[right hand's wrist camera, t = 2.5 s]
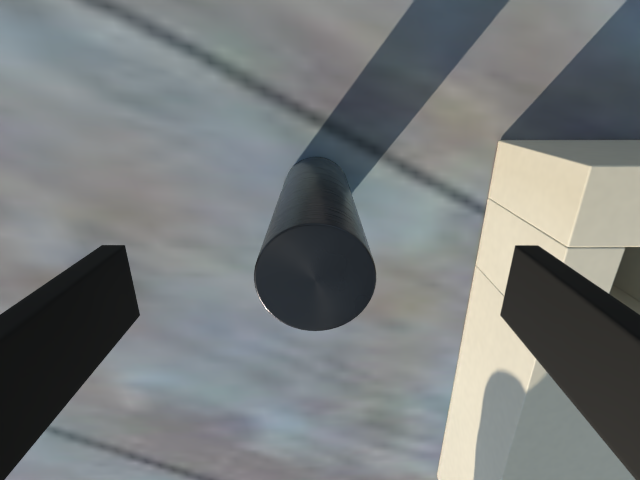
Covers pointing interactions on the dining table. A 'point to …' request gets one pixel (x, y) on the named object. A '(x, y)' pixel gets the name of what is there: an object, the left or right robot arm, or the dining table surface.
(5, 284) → the dining table surface
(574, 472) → the peg block
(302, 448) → the dining table surface
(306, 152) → the dining table surface
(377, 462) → the dining table surface
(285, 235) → the peg
